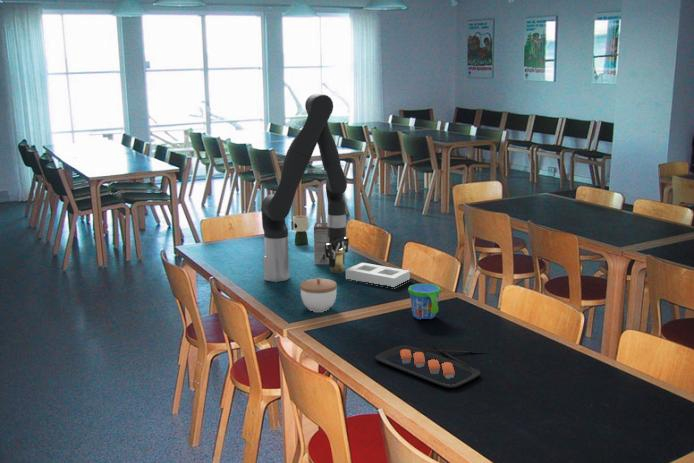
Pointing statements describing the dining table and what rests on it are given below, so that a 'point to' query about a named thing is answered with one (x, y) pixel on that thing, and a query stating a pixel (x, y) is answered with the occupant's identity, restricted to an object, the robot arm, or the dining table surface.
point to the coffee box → (320, 243)
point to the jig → (377, 274)
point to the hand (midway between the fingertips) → (337, 265)
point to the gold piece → (338, 262)
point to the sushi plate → (432, 364)
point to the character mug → (300, 229)
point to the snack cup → (424, 300)
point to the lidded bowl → (318, 294)
